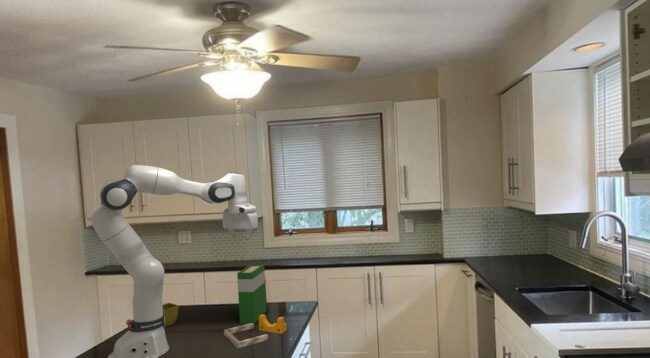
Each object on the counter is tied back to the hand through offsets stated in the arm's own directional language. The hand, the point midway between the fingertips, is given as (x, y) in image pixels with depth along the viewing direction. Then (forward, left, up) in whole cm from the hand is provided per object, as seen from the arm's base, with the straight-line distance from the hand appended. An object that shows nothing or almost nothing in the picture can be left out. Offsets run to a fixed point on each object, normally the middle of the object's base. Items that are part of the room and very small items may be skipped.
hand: (240, 238), depth 179 cm
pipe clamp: (+10, -7, -42) cm, 44 cm away
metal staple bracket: (-3, -7, -42) cm, 42 cm away
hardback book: (+10, +15, -42) cm, 45 cm away
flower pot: (-28, +32, -42) cm, 60 cm away
